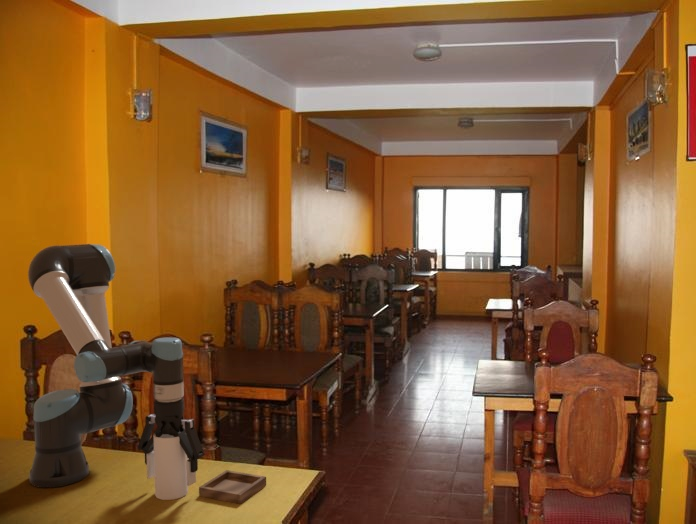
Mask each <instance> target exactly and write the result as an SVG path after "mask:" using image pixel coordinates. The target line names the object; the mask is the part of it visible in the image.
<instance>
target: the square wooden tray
mask: <svg viewBox="0 0 696 524" xmlns="http://www.w3.org/2000/svg"><path fill="white" fill-rule="evenodd" d="M266 486H267V476H264V475H258V474H252V473H248V472H247V473H245V472H240V471H234V470H228V469H226V470H224V471H222V472H221V473H220V474H218V475H217V476H215V477H213V478H212V479H210V480H208V481H206V482H205V483H204V484H202V485H200V486H199V487H198V496H199V497H201V498H207V499H214V500H218V501H223V502H229V503H234V504H239V505H241V504H243V503H244V502H245V501H247V500H248V499H249V498H251V497H253V495H256V494H257V493H258V492H259V491H260V490H262V489H263V488H264V487H266Z"/></svg>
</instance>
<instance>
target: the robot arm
mask: <svg viewBox="0 0 696 524" xmlns="http://www.w3.org/2000/svg"><path fill="white" fill-rule="evenodd" d="M27 273H28V274H27V275H28V278H27V279H28V282H29V285H30V288H31V290H32V291H33V293H34V295H35V296H36V297H39V298H40V299H42V300H43V301H44V303H45V305H46V306H47V308H48V309H49V312H50V313H51V315H52V316H53V318H54V320H55V322H56V323H57V325H58V326H59V328H60V329H61V331H62V333H63V334H64V336H65V337H66V339H67V341H68V343H69V344H70V346H71V347H72V349H73V350H74V353H75V354H76V356H75V358H74V362H73V367H74V372H75V375H76V378H77V379H78V380H79V381H80V382H81V383H80V384H79V390H77V389H74V388H65V389H59V390H58V389H57V390H53V391H51V392H48V393H45V394H44V395H41V396H40V397H39V398H37V399H36V401H35V402H34V404H33V416H32V419H33V427H34V428H33V429H34V430H33V431H34V445H35V446H34V447H35V448H34V449H35V450H34V451H35V453H34V458H33V461H32V465H31V469H30V471H29V473H28V474H29V476H28V479H29V484H30V483H31V484H32V485H31V484H30V485H31V486H33V485H35V486H34V487H36V486H39V487H38V488H44V487H49V488H57V487H64V486H69V485H72V484H75V483H78V482H81V481H82V480H84V479H85V478H87V477H88V476H89V474H90V467H89V462H88V461H87V459H86V456H85V452H84V450H83V448H82V435H86V434H88V433H93V432H96V431H100V430H104V429H108V428H113V427H116V426H118V425H122V424H124V423H125V422H126V421H127V420H128V419H129V418H130V416H131V413H132V411H133V405H134V404H133V402H134V401H133V393H132V391H131V389H130V386H128V385H127V384H126V383H123V382H122V376H128V375H133V374H137V373H138V374H139V373H141V372H142V373H144V372H147V373H152V384H153V385H152V386H153V398H154V399H155V400H154V401H153V412H154V413H151V414H148V415H146V416H145V417H144V418H145V420H144V423H145V424H144V428H143V430H142V433H141V436H140V440H139V442H138V445H137V449H138V450H139V451H142V452H143V453H144V463H145V465H146V478H147V479H148V480H149V479H151V478H155V471H154V437H153V436H154V433H155V434H156V437H160V436H162V435H163V434H168V435H172V436H174V437H179V440H180V445H181V447H182V448H183V450H184V452H185V453H186V455H187V460H186V468H187V486H188V487H191V486H192V485H193V484H195V483H196V482H197V477H196V476H197V474H196V472H197V471H198V469H199V466H198V463H199V462H198V460H199V459H200V458H202V457H205V456H204V455H205V452H204V448H203V447H202V444H201V441H200V439H199V435H198V433H197V430H196V428H195V427H196V426H195V425H196V424H195V419H194V418H191V419H185V418H184V412H185V398H184V395H185V389H184V388H185V385H184V351H183V344H182V340H181V339H180V338H178V337H170V336H169V337H159V338H155V339H154V340H152V342H150V341H146V340H133V341H131V342H130V343H128V344H127V345H122V346H115V347H112V340H111V331H110V324H109V318H108V316H109V315H108V310H107V302H106V292H107V291H108V289H110V282H111V281H113V279H114V277H115V273H116V264H115V261H114V258H113V255H112V253H111V252H110V250H109V249H107V247H105V246H104V245H101V244H92V243H91V244H90V243H88V244H87V243H86V244H85V243H83V244H71V245H70V244H68V245H50V246H48V247H44V248H43V249H41V250H40V251H38V253H36V255H35V256H34V257H33V258H32V260H31V261H30V263H29V268H28V271H27ZM155 425H157V426H156V427H155ZM154 427H155V430H154ZM153 430H154V431H153ZM179 431H180V432H181V433H178V432H179Z"/></svg>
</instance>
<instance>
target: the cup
mask: <svg viewBox="0 0 696 524" xmlns="http://www.w3.org/2000/svg"><path fill="white" fill-rule="evenodd" d="M178 433H181V432H180V431H179V432H178ZM153 434H154V436H153V435H152V436H153V437H154V448H153V449H154V450H153V451H154V471H155V476H154V495H155V498H156V499H159V500H162V501H171V500H177V499H178V500H179V499H180V498H183V497H185V496H186V495H187V494H188V493H189V492H188V491H189V486H187V468H186V460H188V457H187V455H186V453H185V452H184V450H183V448H182V447H181V445H180V440H179V437H174V436H172V435H168V434H163V435H162V436H160V437H156V434H155V433H154V432H153Z"/></svg>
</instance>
